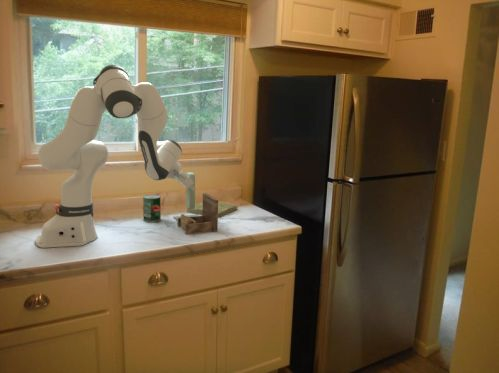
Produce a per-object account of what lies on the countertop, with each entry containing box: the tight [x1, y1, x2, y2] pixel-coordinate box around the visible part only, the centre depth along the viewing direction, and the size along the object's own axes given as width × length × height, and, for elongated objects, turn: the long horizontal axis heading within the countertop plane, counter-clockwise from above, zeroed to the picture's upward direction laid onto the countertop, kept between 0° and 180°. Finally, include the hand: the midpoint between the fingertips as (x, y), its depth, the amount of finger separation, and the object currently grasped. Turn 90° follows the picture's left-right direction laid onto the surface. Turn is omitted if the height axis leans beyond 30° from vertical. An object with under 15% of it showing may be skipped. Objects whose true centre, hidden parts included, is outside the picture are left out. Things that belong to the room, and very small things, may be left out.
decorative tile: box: [186, 200, 238, 218], centre depth 222 cm, size 19×20×4 cm
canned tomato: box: [142, 194, 162, 222], centre depth 202 cm, size 8×8×11 cm
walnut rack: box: [177, 192, 219, 235], centre depth 190 cm, size 14×14×14 cm
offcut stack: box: [180, 214, 196, 231], centre depth 189 cm, size 4×8×6 cm, turn 27°
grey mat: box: [173, 214, 200, 222], centre depth 204 cm, size 12×12×1 cm
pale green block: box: [185, 171, 196, 209], centre depth 201 cm, size 3×5×16 cm, turn 27°
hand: (191, 188), depth 201 cm, fingers closed on pale green block, 5 cm apart
